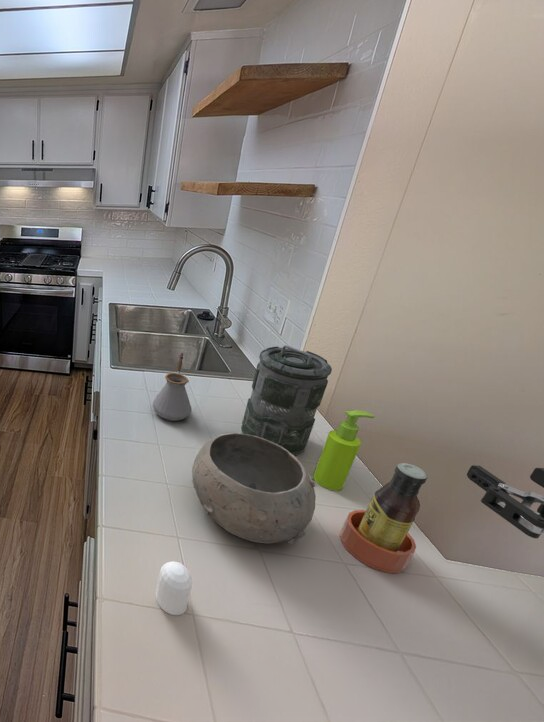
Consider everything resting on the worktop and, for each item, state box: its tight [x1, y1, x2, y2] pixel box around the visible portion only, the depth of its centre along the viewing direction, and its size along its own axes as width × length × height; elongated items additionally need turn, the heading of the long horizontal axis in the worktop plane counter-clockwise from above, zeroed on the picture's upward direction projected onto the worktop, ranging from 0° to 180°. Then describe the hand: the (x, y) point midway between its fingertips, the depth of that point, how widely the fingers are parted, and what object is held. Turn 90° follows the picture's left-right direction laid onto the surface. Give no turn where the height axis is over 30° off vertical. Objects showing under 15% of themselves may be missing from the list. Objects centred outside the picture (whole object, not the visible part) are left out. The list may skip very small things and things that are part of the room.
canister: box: [240, 344, 333, 456], centre depth 103 cm, size 16×16×28 cm
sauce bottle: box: [357, 462, 428, 552], centre depth 72 cm, size 7×6×20 cm
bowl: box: [191, 432, 316, 544], centre depth 82 cm, size 23×23×15 cm
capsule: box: [154, 560, 193, 616], centre depth 66 cm, size 5×5×8 cm
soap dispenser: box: [312, 409, 375, 492], centre depth 90 cm, size 6×7×20 cm
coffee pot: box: [152, 352, 192, 422], centre depth 121 cm, size 21×12×15 cm, turn 155°
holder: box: [339, 509, 417, 574], centre depth 76 cm, size 10×10×5 cm
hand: (502, 471), depth 55 cm, fingers open, 8 cm apart
